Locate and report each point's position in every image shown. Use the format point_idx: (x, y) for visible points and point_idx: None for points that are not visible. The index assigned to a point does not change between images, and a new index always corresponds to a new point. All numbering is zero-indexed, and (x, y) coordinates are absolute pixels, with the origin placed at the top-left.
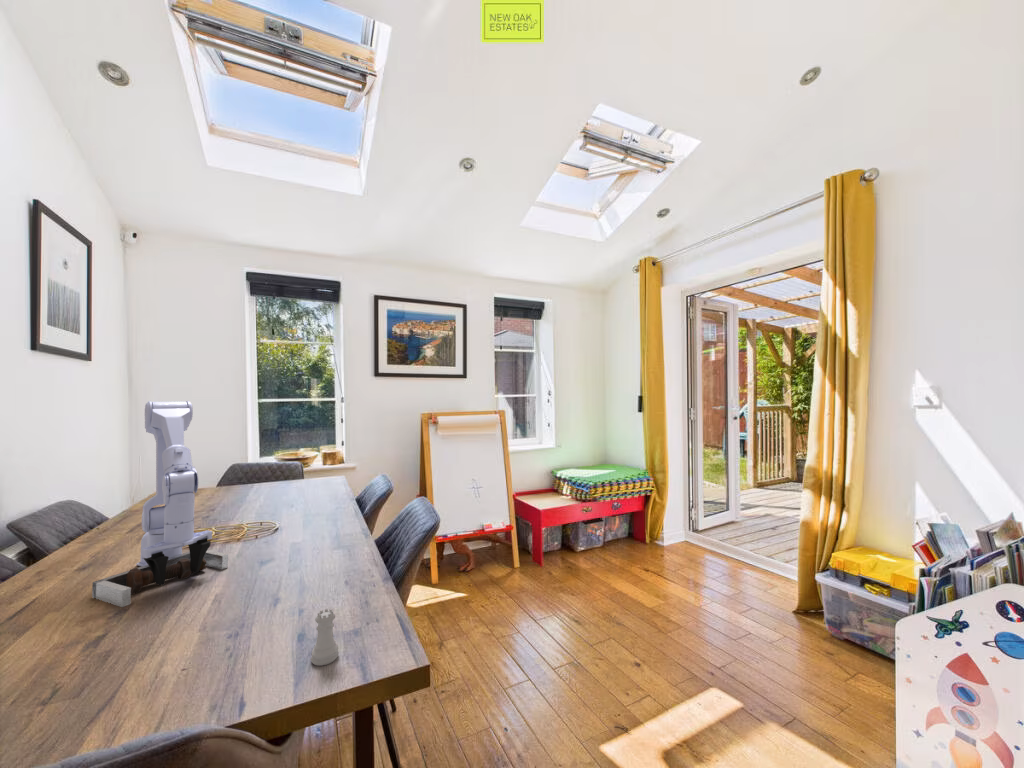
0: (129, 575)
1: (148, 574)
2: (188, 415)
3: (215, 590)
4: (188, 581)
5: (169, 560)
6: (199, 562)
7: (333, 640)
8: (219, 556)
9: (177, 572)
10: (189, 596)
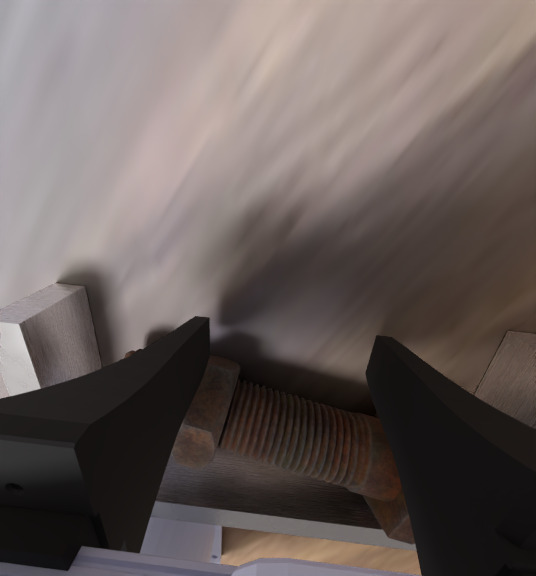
0: None
1: (374, 456)
2: None
3: (289, 11)
4: (247, 312)
5: (207, 503)
6: (176, 340)
7: None
8: (34, 346)
9: (252, 394)
10: (401, 112)
